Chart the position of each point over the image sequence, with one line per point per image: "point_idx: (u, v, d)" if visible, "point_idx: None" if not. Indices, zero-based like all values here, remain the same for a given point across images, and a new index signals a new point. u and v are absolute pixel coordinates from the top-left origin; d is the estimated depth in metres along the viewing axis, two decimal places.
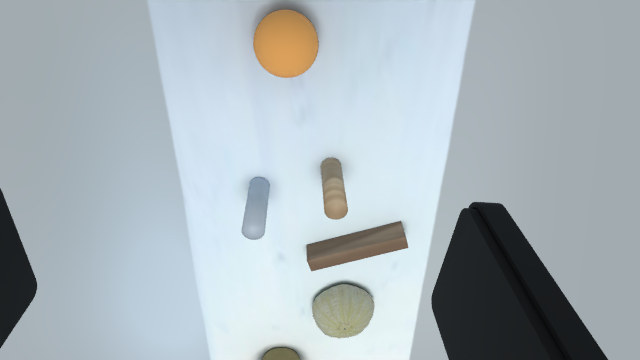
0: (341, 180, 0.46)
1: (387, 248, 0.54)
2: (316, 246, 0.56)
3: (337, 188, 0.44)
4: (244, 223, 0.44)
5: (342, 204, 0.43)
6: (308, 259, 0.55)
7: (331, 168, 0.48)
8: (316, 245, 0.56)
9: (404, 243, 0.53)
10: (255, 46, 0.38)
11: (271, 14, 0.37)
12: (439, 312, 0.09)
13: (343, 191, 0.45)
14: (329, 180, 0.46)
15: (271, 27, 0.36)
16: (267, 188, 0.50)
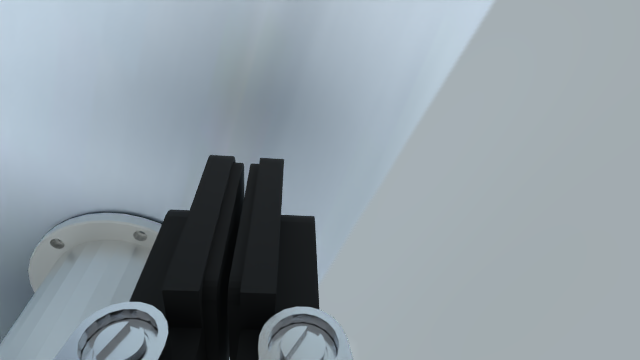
0: None
1: None
2: None
3: None
4: None
5: None
6: None
7: None
8: None
9: None
10: None
11: None
12: None
13: None
14: None
15: None
16: None
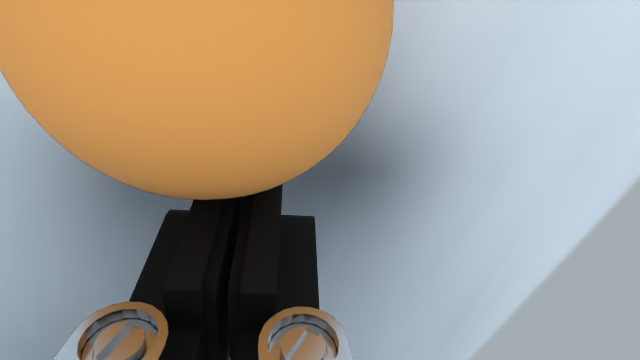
0: None
1: None
2: None
3: None
4: None
5: None
6: None
7: None
8: None
9: None
10: (364, 107, 0.07)
11: None
12: None
13: None
14: None
15: (230, 196, 0.07)
16: None
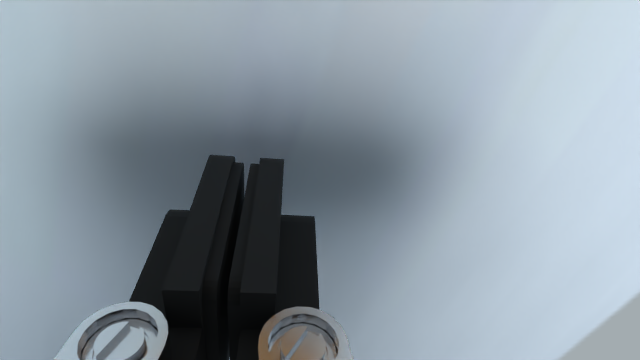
0: None
1: None
2: None
3: None
4: None
5: None
6: None
7: None
8: None
9: None
10: None
11: None
12: None
13: None
14: None
15: None
16: None
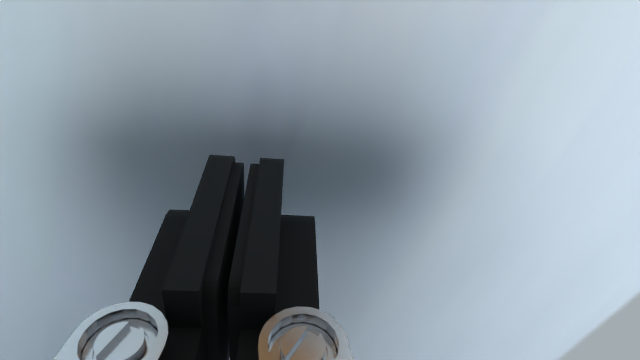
0: None
1: None
2: None
3: None
4: None
5: None
6: None
7: None
8: None
9: None
10: None
11: None
12: None
13: None
14: None
15: None
16: None
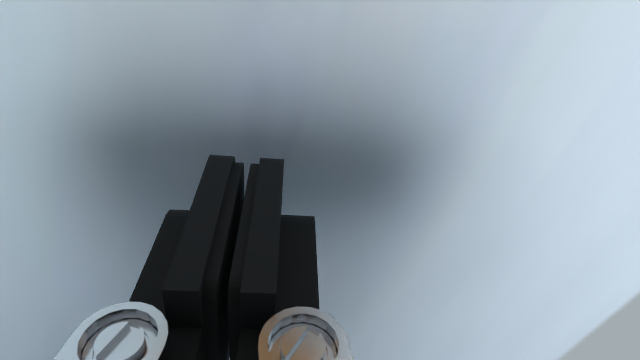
0: None
1: None
2: None
3: None
4: None
5: None
6: None
7: None
8: None
9: None
10: None
11: None
12: None
13: None
14: None
15: None
16: None
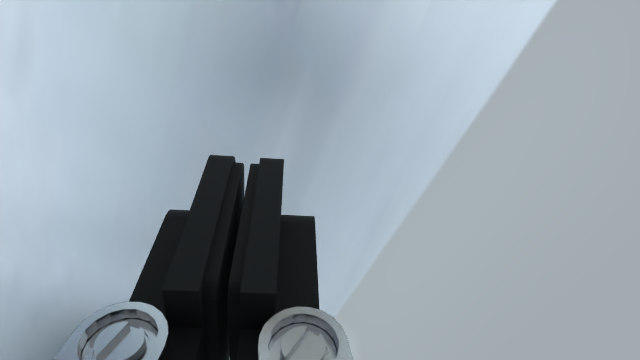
0: None
1: None
2: None
3: None
4: None
5: None
6: None
7: None
8: None
9: None
10: None
11: None
12: None
13: None
14: None
15: None
16: None
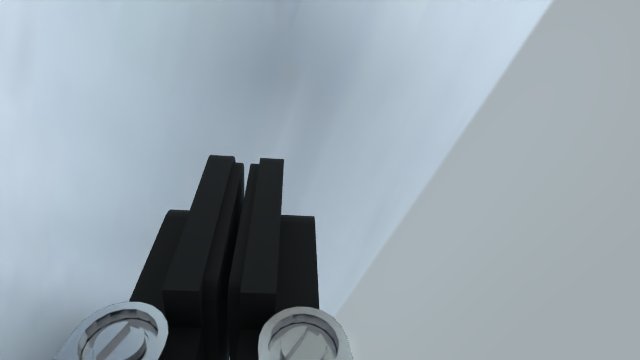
0: None
1: None
2: None
3: None
4: None
5: None
6: None
7: None
8: None
9: None
10: None
11: None
12: None
13: None
14: None
15: None
16: None
